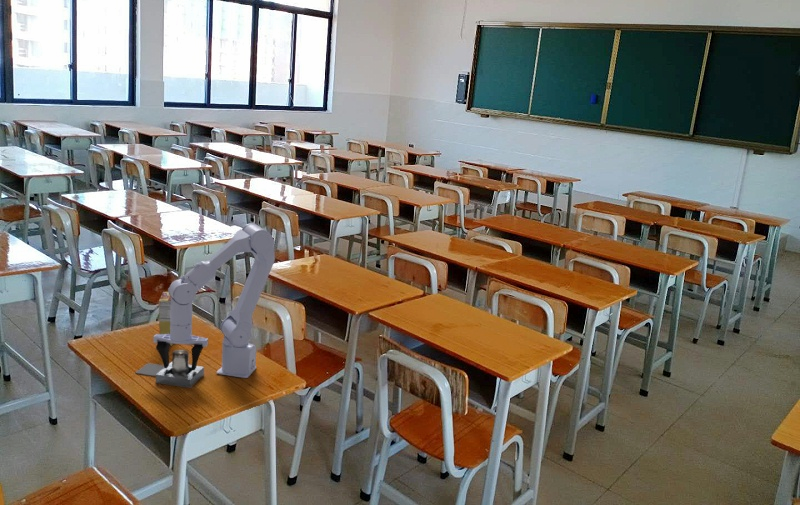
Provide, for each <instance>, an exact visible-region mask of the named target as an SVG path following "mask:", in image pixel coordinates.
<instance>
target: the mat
mask: <svg viewBox="0 0 800 505" xmlns="http://www.w3.org/2000/svg"><path fill="white" fill-rule="evenodd" d="M163 368H164V364H158V363H152V362H151V363H150V362H147V363H146V364H145V365H143V366H142V367H141V368H139V369H138V370H137V371H135V374H136V375H142V376H149V377H155V378H156V374H157V373H158V372H160V371H161V370H162V369H163Z"/></svg>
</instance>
